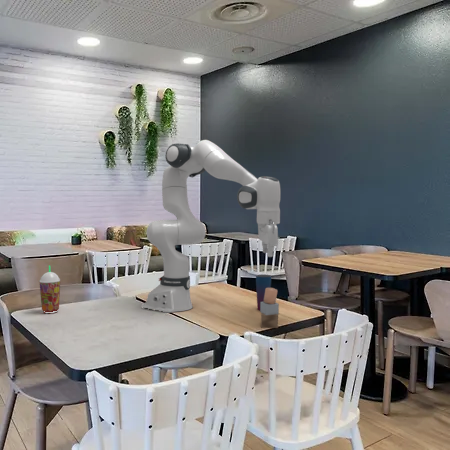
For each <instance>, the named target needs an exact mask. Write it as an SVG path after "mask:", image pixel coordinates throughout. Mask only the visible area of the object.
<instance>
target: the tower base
mask: <svg viewBox="0 0 450 450" xmlns="http://www.w3.org/2000/svg"><path fill="white" fill-rule="evenodd" d="M260 313H261V312H260ZM260 315H261V316H260V328H263V329H265V328H267V329H278V328H279V314H274V315H265V314H263V313H261V314H260Z"/></svg>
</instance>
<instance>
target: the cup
mask: <svg viewBox="0 0 450 450" xmlns="http://www.w3.org/2000/svg"><path fill="white" fill-rule="evenodd" d="M255 286H256V289H255V290H256V305H257V311H260V302H264V295H265V289H266V288H272V287H271V286H272V275H271V274H267V273H266V274H265V273H264V274H263V273H260V274H256V275H255Z"/></svg>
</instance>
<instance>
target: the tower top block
mask: <svg viewBox="0 0 450 450" xmlns="http://www.w3.org/2000/svg"><path fill="white" fill-rule="evenodd" d="M279 305H280V304H279V303H278V302H276V303H275V304H268V303H265V302H260V310H259V311H260V313H263V314H265V315H274V314H278V315H279V310H280V306H279Z"/></svg>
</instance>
